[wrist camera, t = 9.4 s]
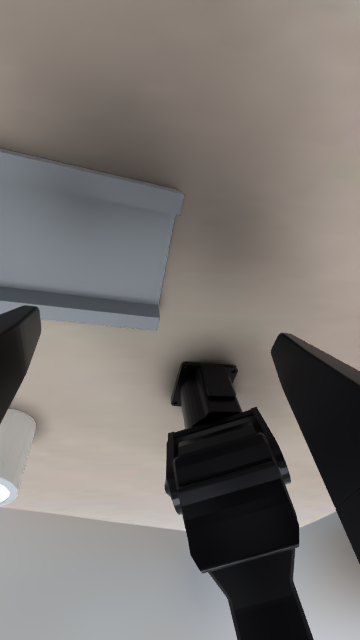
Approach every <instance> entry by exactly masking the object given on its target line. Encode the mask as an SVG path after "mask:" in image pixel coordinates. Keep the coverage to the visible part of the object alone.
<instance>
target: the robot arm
mask: <svg viewBox="0 0 360 640" xmlns="http://www.w3.org/2000/svg"><path fill="white" fill-rule="evenodd" d="M40 334H41V320H40V310H39V308H38V307H37V306H29V305H23V306H20V307H18V308H15V309H13V310H10V311H8V312H5V313H2V314H0V424H1V422H2V420H3V418H4V416H5V414H6V412H7V410H8V408H9V406H10V404H11V402H12V400H13V399H14V397H15V395H16V393H17V391H18V389H19V387H20V385H21V383H22V381H23V379H24V377H25V375H26V373H27V370H28V368H29V365H30V362H31V359H32V356H33V354H34V351H35V348H36V345H37V342H38V340H39V337H40ZM271 355H272V358H273V361H274V364H275V367H276V370H277V374H278V377H279V380H280V383H281V385H282V388H283V390H284V393H285V395H286V397H287V400H288V402H289V404H290V406H291V409H292V411H293V413H294V415H295V418H296V420H297V422H298V424H299V427H300V429H301V431H302V434H303V436H304V438H305V440H306V443H307V445H308V447H309V449H310V452H311V454H312V456H313V459H314V461H315V463H316V465H317V468H318V470H319V472H320V474H321V477H322V479H323V481H324V483H325V486H326V488H327V490H328V493H329V495H330V497H331V499H332V502H333V504H334V506H335V508H336V511H337V513H338V516H339V518H340V520H341V523H342V525H343V527H344V529H345V531H346V534H347V536H348V538H349V541H350V543H351V545H352V548H353V550H354V552H355V554H356V557H357V559H358V561H359V564H360V371H358V370H356V369H355V368H353V367H351V366H349V365H347V364H345V363H343V362H342V361H340V360H338V359H336V358H334V357H332V356H331V355H329V354H327V353H325V352H323V351H321V350H320V349H318V348H316V347H314V346H312V345H310V344H308V343H307V342H305V341H303V340H301V339H299V338H297V337H296V336H294V335H292V334H288V333H280V334H279V335H278V337H277V339H276V341H275V343H274V345H273V347H272V349H271ZM184 367H186V368H184ZM232 370H233V371H232ZM237 372H238V370H237V368H236V366H231V365H217V364H202V363H188V362H185V363H182V364H181V366H180V370H179V374H178V377H177V381H176V384H175V388H174V391H173V395H172V398H171V404H172V405H173V406H182V412H183V418H184V424H185V429H184V430H181V431H178V432H171V433H168V442H167V461H166V481H165V491H166V493H167V494H168V495H169V496H170V497H171V499H172V501H173V504H174V507H175V510H176V512H177V513H178V514H179V515H180V514H182V515H183V519H184V524H185V528H186V533H187V537H188V542H189V549H190V554H191V556H192V558H193V560H194V561H195V563H196V565H197V566H198V568H199V570H200V571H201V572H202V573H206V572H208V573H209V574H210V575H211V577H212V578H213V579H214V581H215V582H216V583H217V585H218V586H219V587H220V589H221V590H222V591H223V593H224V594H225V595H226V597H227V599H228V602H229V606H230V610H231V614H232V618H233V623H234V627H235V631H236V635H237V640H313V637H312V634H311V631H310V628H309V625H308V622H307V620H306V617H305V614H304V611H303V608H302V605H301V602H300V600H299V597H298V594H297V591H296V588H295V585H294V582H293V571H294V557H295V548H297V547H299V524H298V521H297V516H296V512H295V510H294V507H293V504H292V502H291V499H290V496H289V494H288V491H287V489H286V486H285V484H288V483H291V479H290V474H289V471H288V468H287V465H286V462H285V460H284V457H283V455H282V452H281V450H280V448H279V446H278V444H277V442H276V440H275V438H274V436H273V434H272V433H271V431H270V429H269V428H268V426H267V424H266V423H265V421H264V419H263V417H262V416H261V414H260V412H259V411H258V409H257V407H254V408H251V410H248V411H245V412H242V410H241V407H240V405H239V402H238V400H237V398H236V393H235V390H234V388H233V385H232V383H233V381H234V379H235V376H236V374H237Z"/></svg>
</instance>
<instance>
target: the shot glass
mask: <svg viewBox="0 0 360 640" xmlns="http://www.w3.org/2000/svg"><path fill="white" fill-rule="evenodd" d="M35 430H36V423H35V421H34V419H33V418H32V417H31V416H29V415H28V414H26V413H24V412H21V411H18V410H15V409H8V410H7V412H6V414H5V416H4V418H3V420H2V422H1V424H0V507H1V506H3V505H6V504H8V503H11V502H12V501H13V500H14V499H15V498H16V497H17V495H18V491H19V488H20V484H21V480H22V477H23V473H24V470H25V466H26V463H27V459H28V455H29V452H30V448H31V445H32V441H33V438H34V434H35Z"/></svg>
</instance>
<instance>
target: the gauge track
mask: <svg viewBox="0 0 360 640" xmlns="http://www.w3.org/2000/svg"><path fill="white" fill-rule="evenodd" d="M183 199H184V194H183V193H182V192H180V191H179V190H177V189H173V188H168V187H164V186H160V185H155V184H151V183H147V182H143V181H138V180H134V179H130V178H125V177H121V176H117V175H113V174H108V173H104V172H100V171H95V170H91V169H87V168H83V167H78V166H74V165H70V164H65V163H61V162H57V161H53V160H48V159H44V158H40V157H35V156H31V155H27V154H23V153H18V152H14V151H10V150H5V149H1V148H0V314H2V313H5V312H8V311H10V310H13V309H15V308H18V307H20V306H23V305H29V306H37V307H38V308H39V310H40V319H43V320H53V321H64V322H74V323H84V324H94V325H105V326H115V327H125V328H136V329H146V330H156V331H157V330H158V325H159V320H160V316H159V308H158V304H159V299H160V293H161V288H162V283H163V278H164V272H165V267H166V262H167V257H168V251H169V246H170V241H171V236H172V230H173V225H174V220H175V215H180V214H181V209H182V204H183Z"/></svg>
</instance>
